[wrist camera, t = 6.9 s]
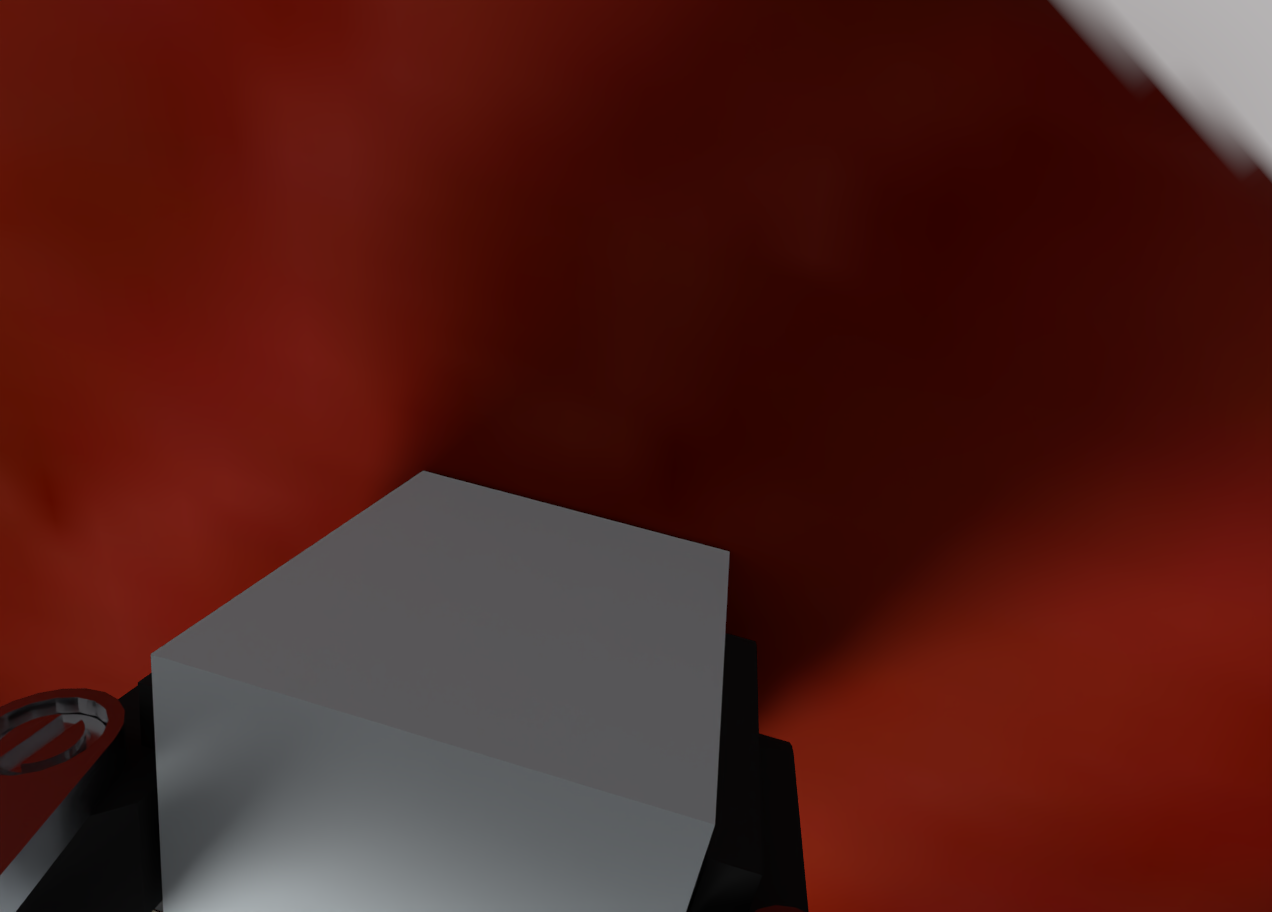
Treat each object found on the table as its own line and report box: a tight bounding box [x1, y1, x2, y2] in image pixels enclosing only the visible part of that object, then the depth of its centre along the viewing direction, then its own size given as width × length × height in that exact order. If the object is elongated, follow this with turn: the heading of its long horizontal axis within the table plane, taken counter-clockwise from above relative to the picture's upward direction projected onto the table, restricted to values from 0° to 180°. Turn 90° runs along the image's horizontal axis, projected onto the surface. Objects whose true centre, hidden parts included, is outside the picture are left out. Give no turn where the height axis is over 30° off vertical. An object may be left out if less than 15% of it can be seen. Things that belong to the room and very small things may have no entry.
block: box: [151, 471, 730, 912], centre depth 9 cm, size 5×5×5 cm
